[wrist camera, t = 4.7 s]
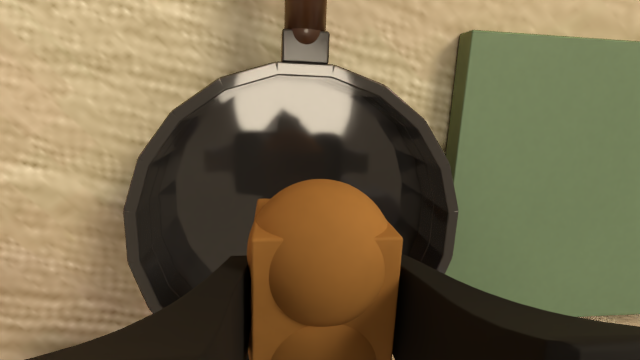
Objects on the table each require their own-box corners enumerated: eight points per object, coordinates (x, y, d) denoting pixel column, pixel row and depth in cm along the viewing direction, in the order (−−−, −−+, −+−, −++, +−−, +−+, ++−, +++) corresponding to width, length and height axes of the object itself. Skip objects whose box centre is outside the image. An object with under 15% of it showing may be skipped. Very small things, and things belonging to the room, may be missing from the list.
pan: (413, 326, 21) (438, 368, 18) (160, 337, 19) (137, 386, 16) (440, 76, 18) (477, 71, 15) (141, 60, 16) (108, 52, 13)
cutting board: (720, 299, 23) (743, 310, 22) (426, 311, 21) (435, 323, 20) (797, 56, 20) (829, 54, 19) (459, 33, 17) (472, 29, 16)
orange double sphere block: (362, 346, 14) (399, 449, 10) (251, 351, 13) (242, 463, 9) (376, 167, 12) (426, 202, 8) (251, 165, 12) (239, 201, 8)
